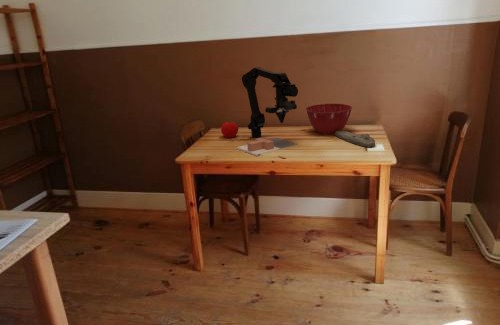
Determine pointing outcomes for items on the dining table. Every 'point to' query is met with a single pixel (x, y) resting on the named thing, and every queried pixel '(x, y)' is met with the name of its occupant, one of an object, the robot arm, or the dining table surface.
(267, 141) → the t block
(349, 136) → the grey wooden log
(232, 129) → the tomato
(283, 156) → the dining table surface
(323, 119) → the mixing bowl
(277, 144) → the board
